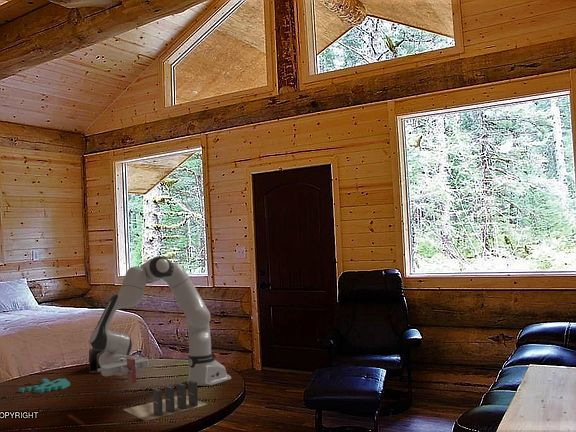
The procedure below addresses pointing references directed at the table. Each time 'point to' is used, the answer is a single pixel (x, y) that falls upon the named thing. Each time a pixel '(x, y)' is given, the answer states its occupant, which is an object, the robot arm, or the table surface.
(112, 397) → the table surface
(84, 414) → the table surface
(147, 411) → the birch board
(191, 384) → the domino
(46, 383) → the alien figure
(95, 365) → the letter holder
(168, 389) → the domino
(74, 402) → the table surface
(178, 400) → the domino
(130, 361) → the red domino
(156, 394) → the domino
